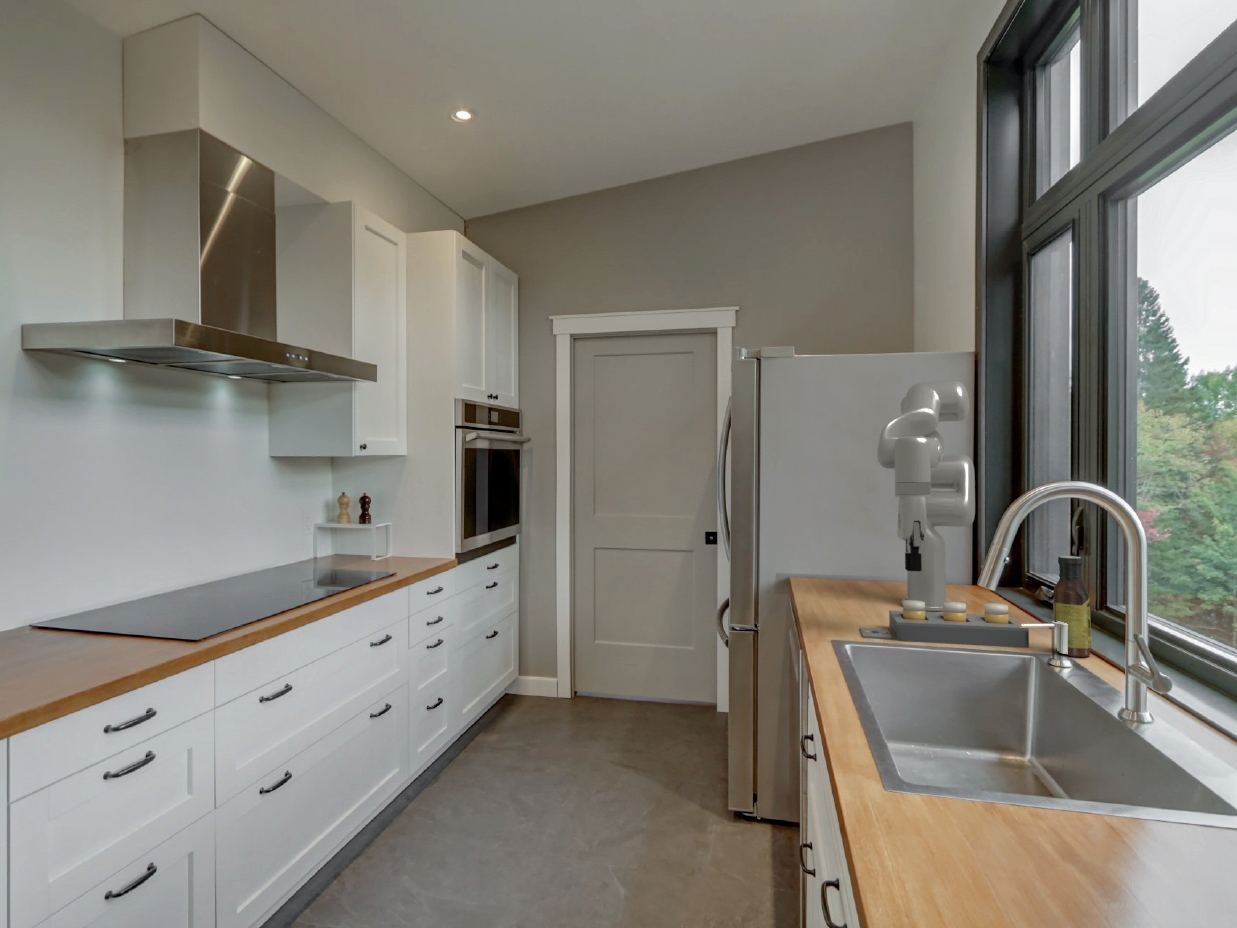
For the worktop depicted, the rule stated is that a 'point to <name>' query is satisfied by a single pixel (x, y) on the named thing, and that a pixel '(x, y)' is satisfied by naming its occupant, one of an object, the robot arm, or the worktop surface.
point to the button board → (958, 630)
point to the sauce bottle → (1073, 605)
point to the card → (875, 633)
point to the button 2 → (996, 613)
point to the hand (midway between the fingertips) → (913, 570)
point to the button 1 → (913, 610)
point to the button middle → (954, 611)
